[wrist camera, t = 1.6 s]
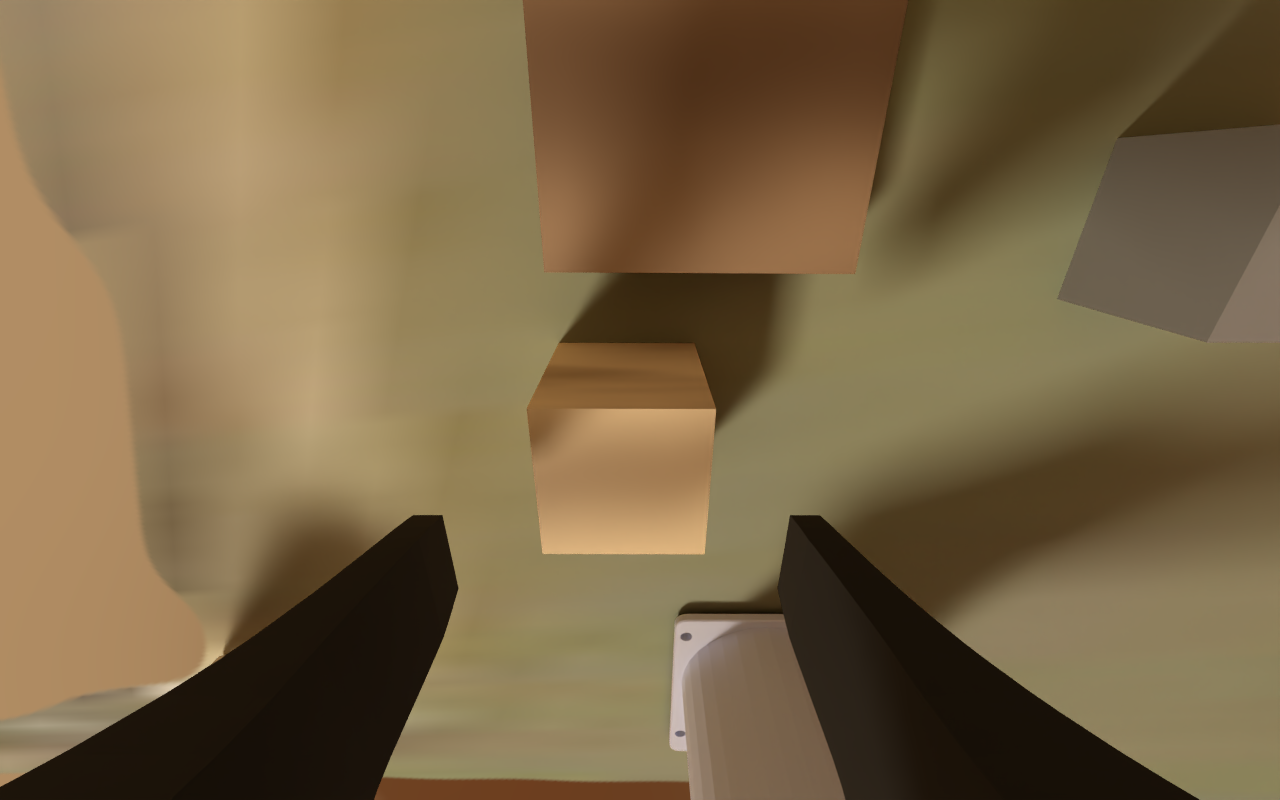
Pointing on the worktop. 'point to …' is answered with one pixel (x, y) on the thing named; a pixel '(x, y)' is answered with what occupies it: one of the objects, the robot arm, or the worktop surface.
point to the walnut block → (708, 131)
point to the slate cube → (1186, 235)
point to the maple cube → (622, 449)
